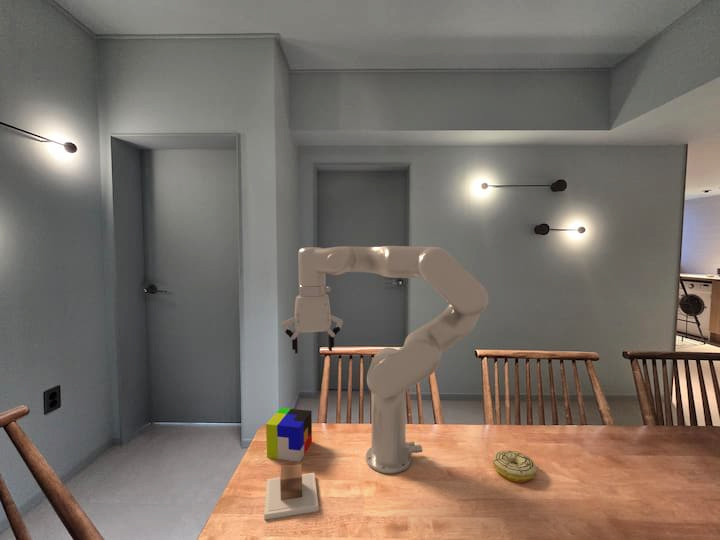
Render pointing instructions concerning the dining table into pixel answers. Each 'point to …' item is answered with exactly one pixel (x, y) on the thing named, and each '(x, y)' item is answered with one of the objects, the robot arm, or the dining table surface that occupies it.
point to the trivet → (290, 506)
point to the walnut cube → (291, 482)
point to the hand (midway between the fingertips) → (313, 350)
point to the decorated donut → (514, 466)
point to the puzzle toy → (289, 434)
